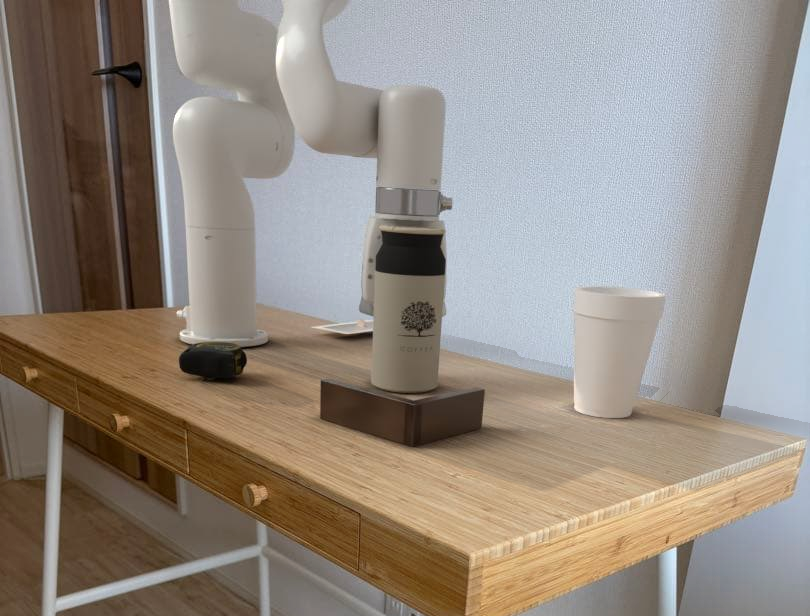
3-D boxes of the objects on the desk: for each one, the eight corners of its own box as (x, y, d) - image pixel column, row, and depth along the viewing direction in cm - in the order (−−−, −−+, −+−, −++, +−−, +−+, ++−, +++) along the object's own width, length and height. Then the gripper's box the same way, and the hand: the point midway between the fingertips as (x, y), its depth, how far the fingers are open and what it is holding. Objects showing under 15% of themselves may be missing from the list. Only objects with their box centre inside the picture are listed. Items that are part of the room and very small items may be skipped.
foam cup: (544, 402, 96) (558, 285, 91) (610, 398, 99) (627, 286, 94) (593, 424, 88) (611, 297, 83) (662, 419, 91) (684, 297, 86)
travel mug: (369, 378, 103) (374, 223, 96) (432, 380, 104) (442, 227, 97) (373, 393, 96) (379, 226, 89) (441, 395, 97) (453, 230, 90)
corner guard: (319, 418, 84) (320, 379, 83) (390, 403, 92) (392, 367, 90) (412, 447, 77) (414, 404, 75) (481, 428, 84) (485, 389, 82)
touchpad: (310, 334, 131) (310, 320, 130) (373, 326, 142) (374, 313, 141) (346, 341, 126) (347, 327, 126) (409, 332, 137) (409, 319, 136)
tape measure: (176, 380, 97) (174, 348, 95) (203, 369, 103) (201, 338, 102) (231, 386, 96) (230, 353, 94) (254, 374, 102) (254, 343, 100)
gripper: (466, 208, 101) (455, 360, 108) (343, 202, 100) (340, 355, 107) (475, 210, 94) (462, 371, 101) (343, 203, 93) (340, 367, 100)
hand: (400, 363), depth 104 cm, fingers closed
